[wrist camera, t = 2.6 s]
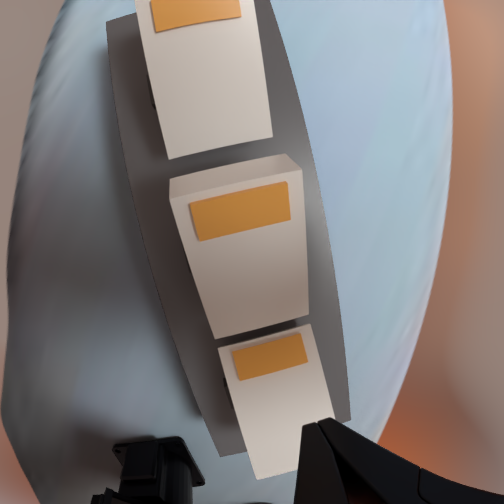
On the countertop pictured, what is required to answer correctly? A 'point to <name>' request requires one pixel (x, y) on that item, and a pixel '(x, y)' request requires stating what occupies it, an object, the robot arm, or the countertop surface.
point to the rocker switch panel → (169, 241)
